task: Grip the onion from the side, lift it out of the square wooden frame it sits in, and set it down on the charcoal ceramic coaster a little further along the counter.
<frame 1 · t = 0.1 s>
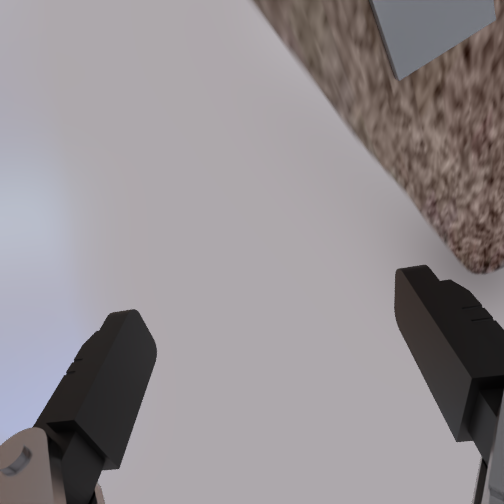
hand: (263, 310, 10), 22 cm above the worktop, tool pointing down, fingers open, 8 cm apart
coaster: (428, 2, 23), on the worktop
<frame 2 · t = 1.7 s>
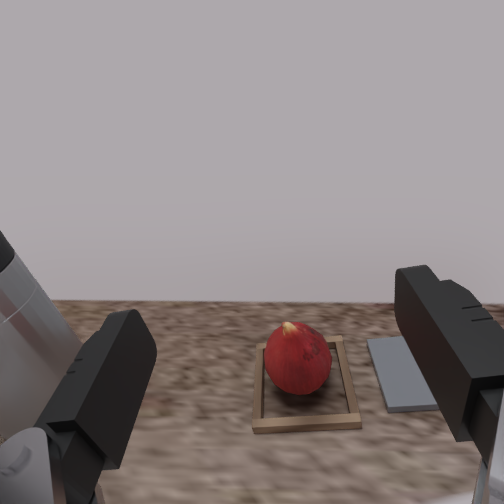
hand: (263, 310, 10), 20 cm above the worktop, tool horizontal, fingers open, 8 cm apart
square wooden frame: (302, 383, 30), on the worktop
onion: (302, 384, 30), resting in square wooden frame
coaster: (417, 372, 28), on the worktop
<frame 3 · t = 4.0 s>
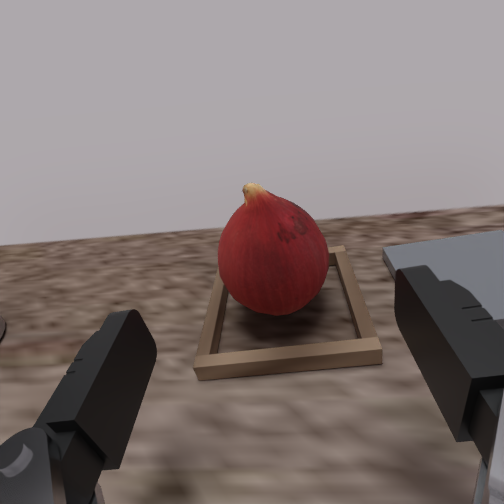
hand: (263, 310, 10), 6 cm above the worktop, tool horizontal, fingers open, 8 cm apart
square wooden frame: (283, 309, 19), on the worktop
onion: (284, 311, 19), resting in square wooden frame
coaster: (467, 283, 17), on the worktop
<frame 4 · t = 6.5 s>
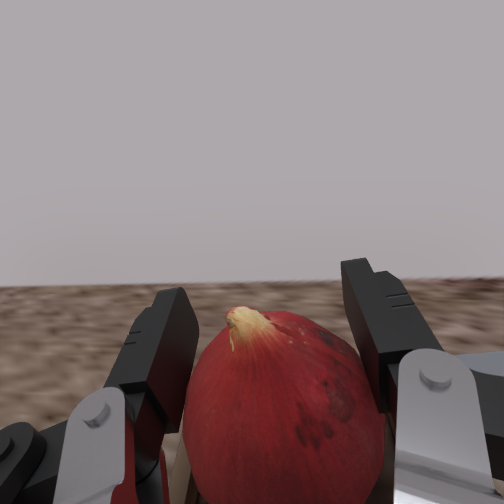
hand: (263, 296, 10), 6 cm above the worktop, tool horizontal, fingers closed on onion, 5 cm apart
square wooden frame: (297, 471, 11), on the worktop
onion: (298, 474, 12), resting in square wooden frame, touching gripper
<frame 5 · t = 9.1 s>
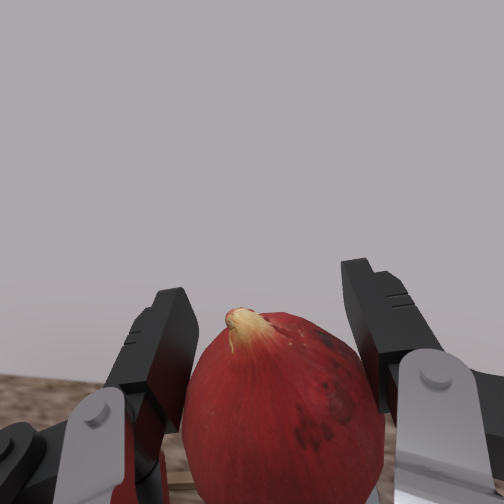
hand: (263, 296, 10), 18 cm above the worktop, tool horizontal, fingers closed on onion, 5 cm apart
onion: (297, 475, 12), point 11 cm above the worktop, touching gripper
when the fingers open (8 cm above the worktop, at t = 11.5 s): onion stays where it is, resting on coaster.
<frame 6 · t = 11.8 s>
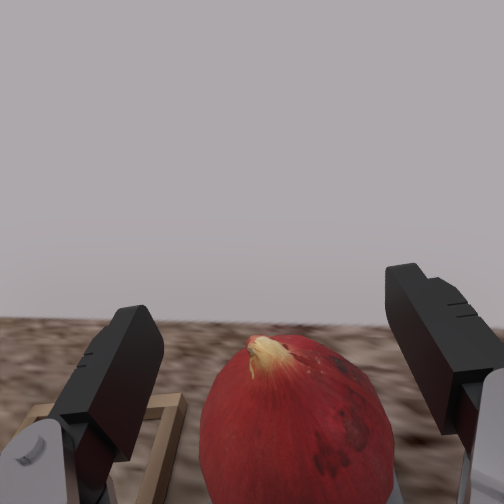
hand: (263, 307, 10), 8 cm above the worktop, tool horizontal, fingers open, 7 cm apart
onion: (305, 490, 12), point 1 cm above the worktop, touching coaster
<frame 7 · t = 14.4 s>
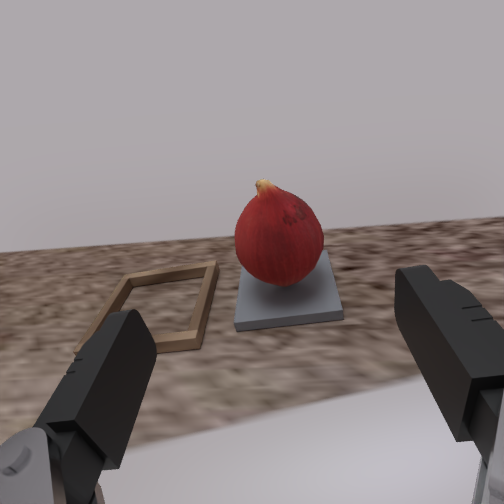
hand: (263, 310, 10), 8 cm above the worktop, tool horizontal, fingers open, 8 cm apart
square wooden frame: (158, 310, 25), on the worktop
onion: (287, 285, 23), point 1 cm above the worktop, touching coaster
coaster: (286, 291, 23), on the worktop
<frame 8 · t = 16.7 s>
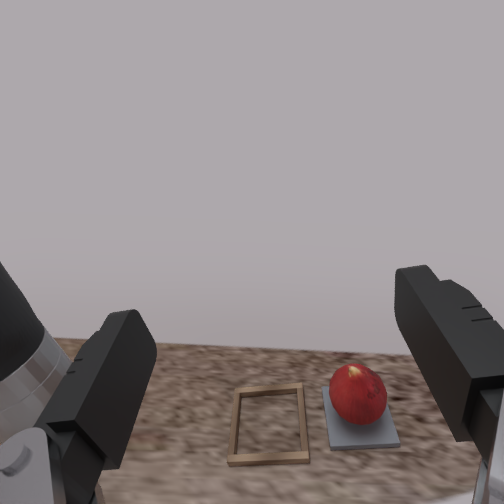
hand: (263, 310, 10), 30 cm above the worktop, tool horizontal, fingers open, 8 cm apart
square wooden frame: (269, 423, 37), on the worktop
onion: (358, 414, 35), point 1 cm above the worktop, touching coaster
coaster: (357, 416, 36), on the worktop
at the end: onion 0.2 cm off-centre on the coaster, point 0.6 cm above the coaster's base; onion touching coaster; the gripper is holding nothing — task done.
